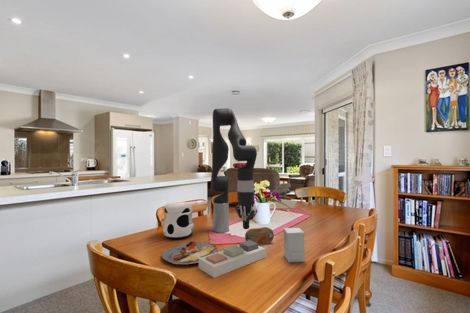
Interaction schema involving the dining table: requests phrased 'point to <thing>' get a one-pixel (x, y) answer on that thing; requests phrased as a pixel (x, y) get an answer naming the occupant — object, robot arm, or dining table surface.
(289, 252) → the supplement box
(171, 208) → the milk container
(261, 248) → the key board
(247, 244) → the charcoal key
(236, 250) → the sage key
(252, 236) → the brown rounded lump
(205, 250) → the food plate
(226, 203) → the robot arm
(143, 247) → the dining table surface
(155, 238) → the dining table surface
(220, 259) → the terracotta key
